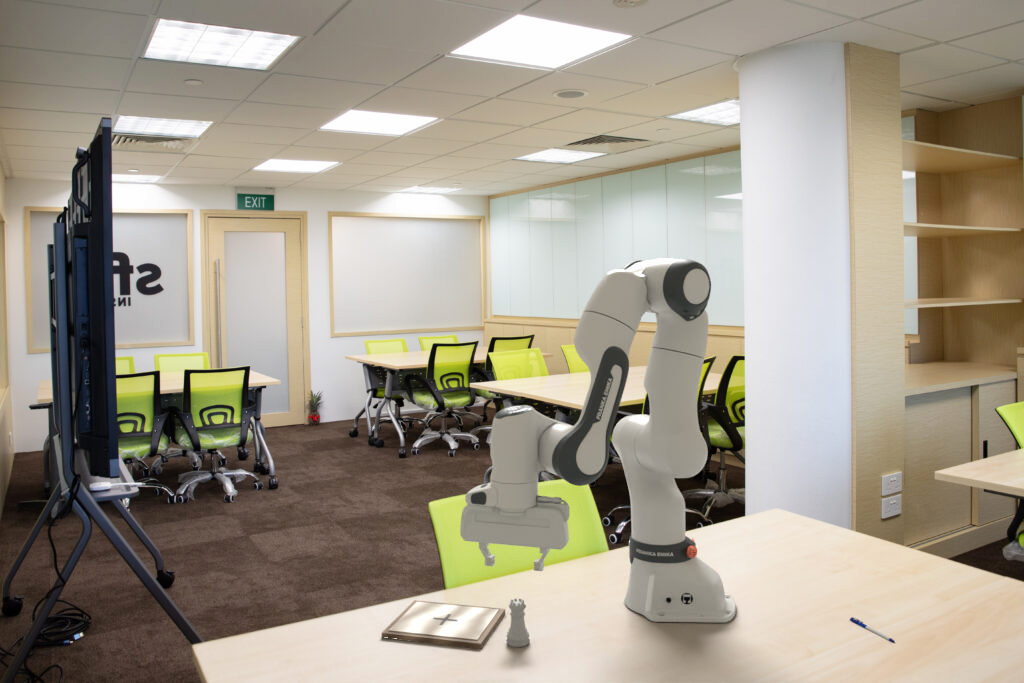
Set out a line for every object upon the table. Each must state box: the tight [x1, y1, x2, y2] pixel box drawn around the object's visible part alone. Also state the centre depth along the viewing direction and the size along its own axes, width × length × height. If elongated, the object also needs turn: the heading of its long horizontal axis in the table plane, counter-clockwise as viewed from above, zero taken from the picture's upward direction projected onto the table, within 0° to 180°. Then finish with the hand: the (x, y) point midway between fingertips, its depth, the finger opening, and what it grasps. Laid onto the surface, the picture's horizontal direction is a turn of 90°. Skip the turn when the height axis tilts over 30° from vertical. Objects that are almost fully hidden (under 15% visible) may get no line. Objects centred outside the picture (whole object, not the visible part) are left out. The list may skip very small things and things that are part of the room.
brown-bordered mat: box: [381, 599, 506, 650], centre depth 150 cm, size 20×16×1 cm
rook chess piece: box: [505, 598, 531, 648], centre depth 142 cm, size 4×4×8 cm
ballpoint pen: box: [849, 616, 895, 643], centre depth 144 cm, size 10×1×1 cm, turn 21°
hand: (514, 567), depth 141 cm, fingers open, 8 cm apart
